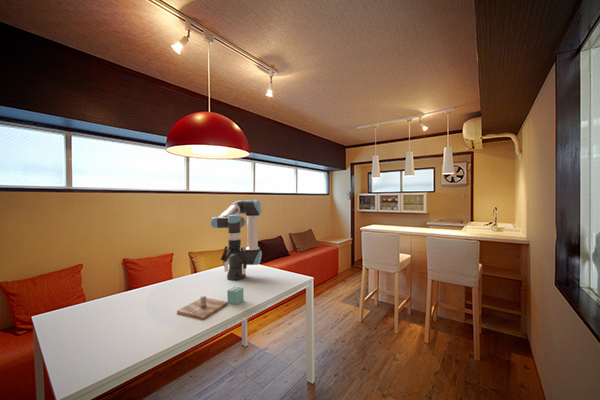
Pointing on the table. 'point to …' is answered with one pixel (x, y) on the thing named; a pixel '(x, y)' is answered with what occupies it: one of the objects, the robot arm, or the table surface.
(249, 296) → the table surface
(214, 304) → the wooden peg board
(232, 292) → the teal rectangular block
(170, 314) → the table surface
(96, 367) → the table surface
